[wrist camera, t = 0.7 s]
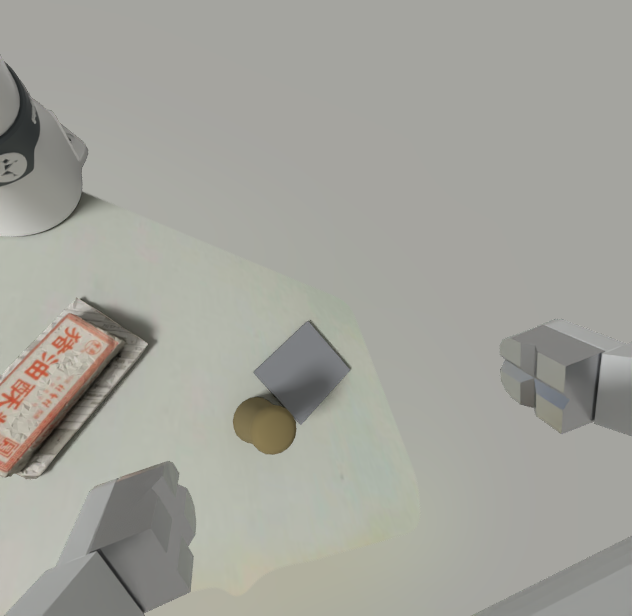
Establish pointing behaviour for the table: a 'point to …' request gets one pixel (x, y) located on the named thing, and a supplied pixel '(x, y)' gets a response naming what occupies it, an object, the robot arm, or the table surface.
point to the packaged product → (60, 385)
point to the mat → (302, 372)
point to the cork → (264, 425)
